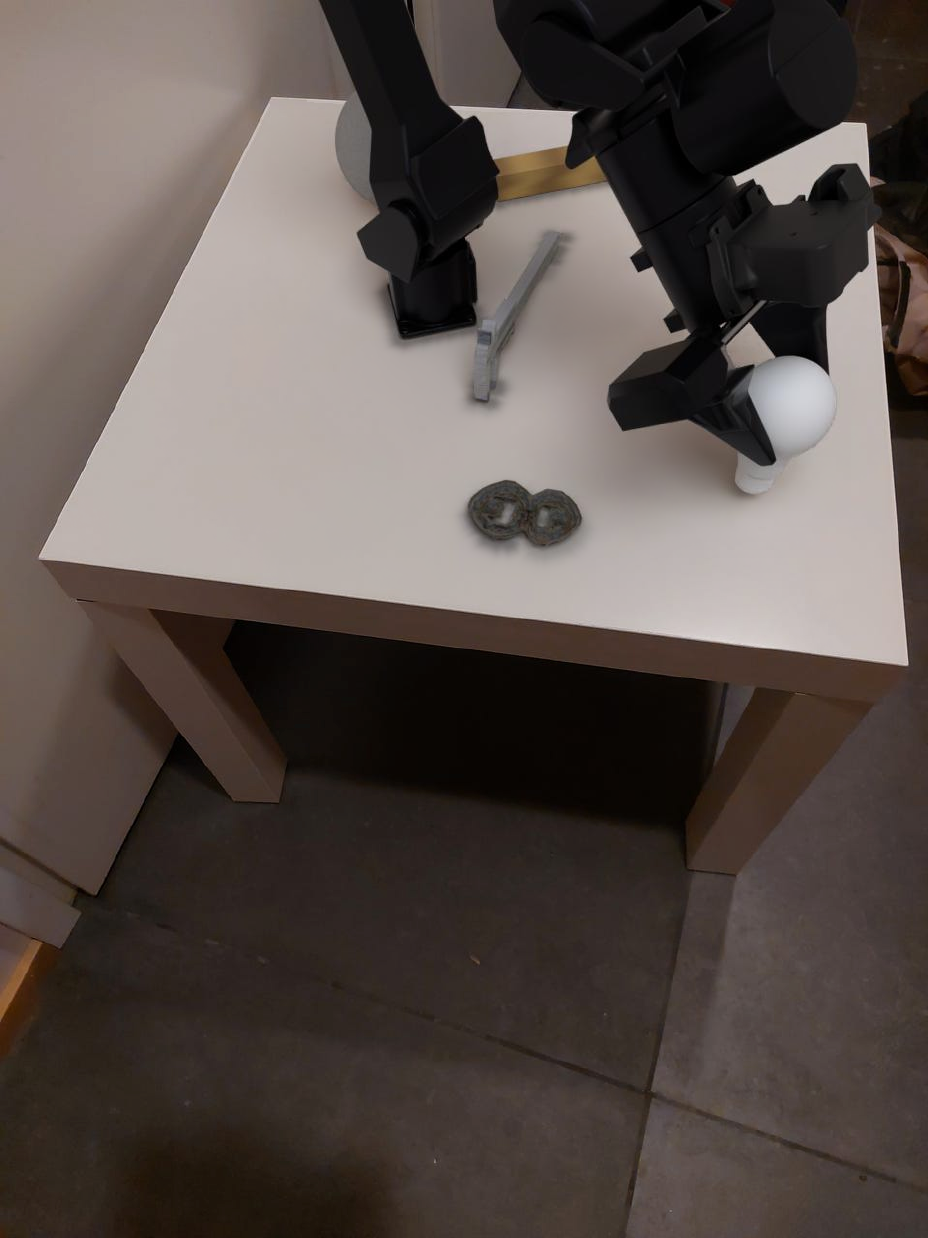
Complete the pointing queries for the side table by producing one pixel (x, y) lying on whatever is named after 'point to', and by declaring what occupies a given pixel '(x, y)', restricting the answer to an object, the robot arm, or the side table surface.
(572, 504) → the corroded twin loop
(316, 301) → the side table surface
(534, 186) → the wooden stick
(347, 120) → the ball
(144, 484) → the side table surface
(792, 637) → the side table surface
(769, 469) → the lightbulb
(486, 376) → the caliper
